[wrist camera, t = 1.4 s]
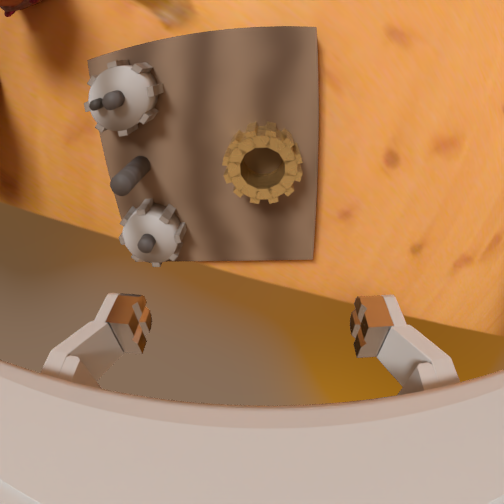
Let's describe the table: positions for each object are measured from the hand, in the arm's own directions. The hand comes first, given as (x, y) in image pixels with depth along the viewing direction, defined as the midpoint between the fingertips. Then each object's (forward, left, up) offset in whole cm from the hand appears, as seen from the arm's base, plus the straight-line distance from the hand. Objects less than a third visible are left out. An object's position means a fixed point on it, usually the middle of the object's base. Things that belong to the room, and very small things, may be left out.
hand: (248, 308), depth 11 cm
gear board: (+5, 0, -21) cm, 22 cm away
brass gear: (0, 0, -19) cm, 19 cm away
